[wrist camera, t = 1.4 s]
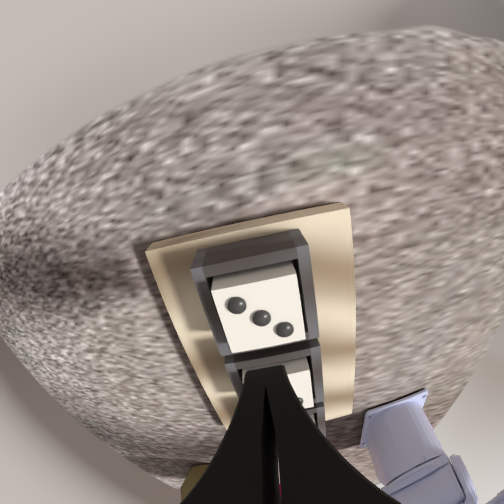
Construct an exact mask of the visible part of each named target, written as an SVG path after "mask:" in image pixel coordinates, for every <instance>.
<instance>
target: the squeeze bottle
mask: <svg viewBox="0 0 504 504" xmlns="http://www.w3.org/2000/svg"><path fill="white" fill-rule="evenodd" d="M208 466H209V465H197V466H194V467H192V468H191V470H190V471H189V473H188V475H187V477H186V479H185V481H184V483H183V484H182V486H181V502H182V501H183V500H184V498H185V497H186V496H187V495H188V494H189V492H190V491H191V490H192V489H193V487H194V486H195V485H196V483H197V482H198V481H199V479H200V478H201V476H202V475H203V473H204V472H205V470H206V469H207V467H208Z"/></svg>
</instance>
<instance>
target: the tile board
mask: <svg viewBox="0 0 504 504" xmlns="http://www.w3.org/2000/svg"><path fill="white" fill-rule="evenodd" d="M145 253H146V256H147V259H148V262H149V265H150V267H151V270H152V273H153V275H154V278H155V280H156V283H157V286H158V288H159V291H160V293H161V296H162V298H163V301H164V303H165V306H166V308H167V310H168V313H169V315H170V317H171V320H172V322H173V324H174V327H175V329H176V331H177V334H178V336H179V338H180V340H181V342H182V345H183V347H184V349H185V351H186V353H187V355H188V357H189V360H190V362H191V364H192V366H193V368H194V370H195V372H196V374H197V376H198V378H199V380H200V382H201V384H202V386H203V388H204V390H205V392H206V394H207V396H208V397H209V399H210V401H211V403H212V405H213V407H214V409H215V410H216V412H217V414H218V416H219V418H220V419H221V421H222V423H223V425H224V427H225V428H226V430H227V429H228V427H229V425H230V422H231V420H232V417H233V414H234V412H235V409H236V406H237V403H238V400H239V397H240V394H241V390H242V386H243V379H242V368H249V367H255V366H260V365H266V364H271V363H277V362H282V361H287V360H291V359H296V358H301V357H305V356H306V358H307V362H308V365H309V369H310V377H311V385H312V394H313V404H314V407H310V408H305V410H306V411H307V413H308V414H311V413H313V415H314V420H315V424H316V426H317V427H318V428H319V430H320V431H321V432H322V434H323V435H324V436H325V437H326V426H325V421H327V420H331V419H334V418H338V417H342V416H346V415H349V414H352V406H353V393H354V376H355V348H356V302H355V273H354V255H353V241H352V229H351V218H350V208H349V207H347V206H346V205H344V204H343V203H341V202H339V203H334V204H329V205H323V206H318V207H313V208H308V209H303V210H298V211H293V212H288V213H283V214H278V215H273V216H268V217H263V218H259V219H254V220H249V221H244V222H240V223H235V224H231V225H226V226H222V227H217V228H213V229H208V230H204V231H199V232H195V233H191V234H186V235H182V236H178V237H174V238H170V239H165V240H161V241H157V242H153V243H151V245H150V246H149V247H148V248H147V250H146V251H145ZM289 260H291V261H292V264H293V267H294V269H295V272H296V275H297V281H298V288H299V294H300V301H301V308H302V315H303V322H304V329H305V337H306V339H304V340H299V341H295V342H290V343H285V344H280V345H275V346H270V347H265V348H260V349H254V350H249V351H243V352H237V353H232V352H231V349H230V346H229V343H228V341H227V338H226V335H225V332H224V329H223V326H222V323H221V320H220V317H219V314H218V311H217V308H216V305H215V302H214V299H213V296H212V293H211V288H212V282H213V277H214V276H216V275H221V274H226V273H231V272H236V271H241V270H246V269H250V268H255V267H260V266H265V265H270V264H274V263H279V262H284V261H289Z"/></svg>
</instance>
